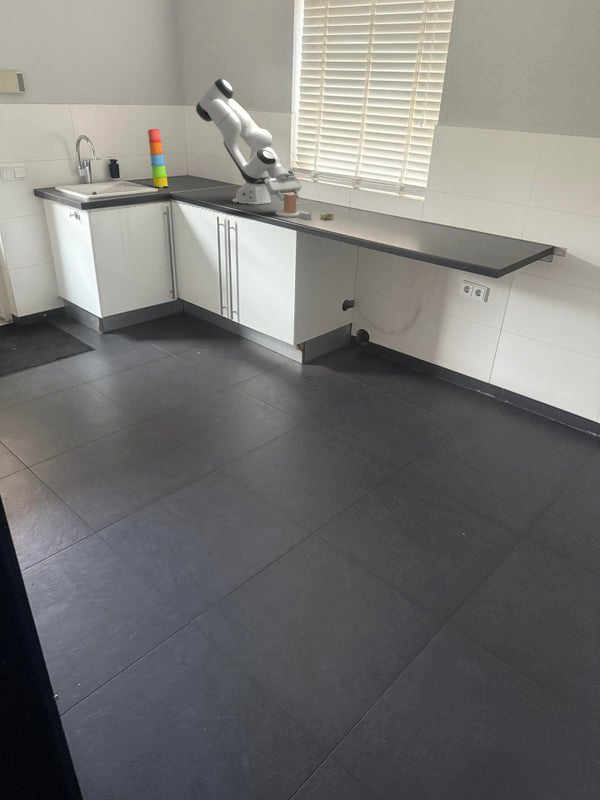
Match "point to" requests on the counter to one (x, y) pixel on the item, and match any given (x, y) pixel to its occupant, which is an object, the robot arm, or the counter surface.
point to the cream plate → (284, 214)
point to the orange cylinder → (290, 203)
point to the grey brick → (305, 215)
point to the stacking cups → (157, 158)
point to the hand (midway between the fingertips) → (290, 198)
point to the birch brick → (326, 216)
